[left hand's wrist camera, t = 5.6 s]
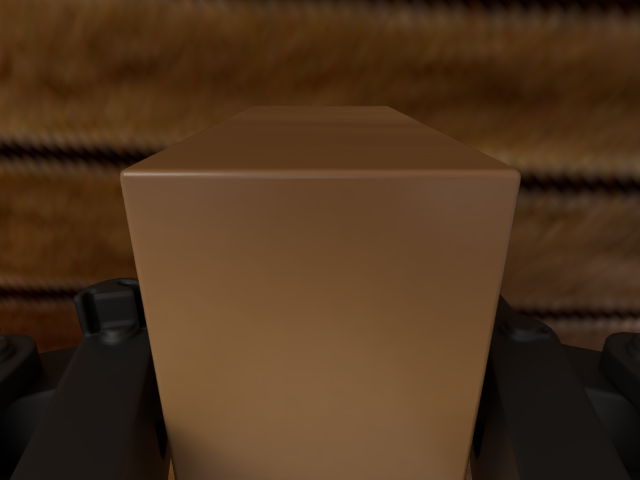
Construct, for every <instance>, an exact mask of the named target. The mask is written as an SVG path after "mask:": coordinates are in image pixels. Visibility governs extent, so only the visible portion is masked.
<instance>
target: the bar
mask: <svg viewBox="0 0 640 480" xmlns="http://www.w3.org/2000/svg"><path fill="white" fill-rule="evenodd" d="M520 180H521V176H520V172H519V170H517V169H515V168H513V167H511V166H508V165H506V164H504V163H502V162H500V161H498V160H496V159H494V158H492V157H490V156H488V155H486V154H484V153H482V152H480V151H478V150H476V149H474V148H472V147H470V146H468V145H466V144H464V143H462V142H460V141H457V140H455V139H453V138H451V137H449V136H447V135H445V134H443V133H441V132H439V131H437V130H435V129H433V128H431V127H429V126H427V125H425V124H423V123H421V122H419V121H417V120H415V119H413V118H411V117H409V116H406V115H404V114H402V113H400V112H398V111H396V110H394V109H392V108H390V107H388V106H252V107H250V108H248V109H246V110H244V111H242V112H240V113H238V114H236V115H234V116H232V117H230V118H228V119H226V120H224V121H222V122H220V123H218V124H215V125H213V126H211V127H209V128H207V129H205V130H203V131H201V132H199V133H197V134H195V135H193V136H191V137H189V138H187V139H185V140H183V141H181V142H179V143H177V144H175V145H173V146H171V147H169V148H167V149H165V150H163V151H161V152H159V153H157V154H155V155H152V156H150V157H148V158H146V159H144V160H142V161H140V162H138V163H136V164H134V165H132V166H130V167H128V168H126V169H124V170H122V171H121V175H120V181H121V187H122V192H123V198H124V203H125V208H126V214H127V219H128V225H129V230H130V236H131V241H132V247H133V252H134V258H135V263H136V268H137V274H138V279H139V285H140V290H141V296H142V301H143V307H144V312H145V318H146V323H147V328H148V334H149V339H150V345H151V350H152V356H153V361H154V367H155V372H156V378H157V383H158V388H159V394H160V399H161V405H162V410H163V416H164V421H165V427H166V432H167V438H168V443H169V448H170V454H171V459H172V465H173V470H174V476H175V480H465V478H466V473H467V468H468V462H469V457H470V451H471V446H472V440H473V435H474V430H475V424H476V419H477V413H478V408H479V402H480V397H481V392H482V386H483V381H484V375H485V370H486V364H487V359H488V354H489V348H490V343H491V337H492V332H493V326H494V321H495V316H496V310H497V305H498V299H499V294H500V288H501V283H502V278H503V272H504V267H505V261H506V256H507V251H508V245H509V240H510V234H511V229H512V223H513V218H514V213H515V207H516V202H517V196H518V191H519V185H520Z"/></svg>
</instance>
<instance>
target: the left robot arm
mask: <svg viewBox="0 0 640 480" xmlns="http://www.w3.org/2000/svg"><path fill="white" fill-rule="evenodd" d="M73 299H74V303H75V306H76V310H77V314H78V318H79V322H80V326H81V330H82V334H83V337H82V339H81V341H80V343H79V345H78V346H75V347H71V348H66V349H61V350H56V351H50V352H45V353H40V354H39V352H38V349H37V346H36V343H35V340H34V339H33V338H31V337H30V336H28V335H21V334H11V335H0V480H168V474H169V466H170V458H171V454H170V448H169V443H168V438H167V432H166V427H165V421H164V416H163V410H162V405H161V399H160V394H159V388H158V383H157V378H156V372H155V367H154V361H153V356H152V350H151V345H150V339H149V334H148V328H147V323H146V318H145V312H144V307H143V301H142V296H141V290H140V285H139V279H135V278H118V279H112V280H106V281H103V282H100V283H97V284H94V285H91V286H89V287H87V288H85V289H84V290H82V291H80V292H79V293H78V294H77V295H76V296H75V297H74V298H73ZM470 465H471V473H472V480H640V333H629V332H620V333H614V334H611V335H610V336H609V337H607V338H606V341H605V344H604V347H603V350H602V352H600V351H595V350H589V349H584V348H579V347H573V346H568V345H564V344H561V342H560V340H559V338H558V336H557V335H556V334H555V332H554V331H553V330H552V329H551V328H550V327H549V326H547V325H545V324H544V323H542V322H541V321H539V320H536V319H533V318H531V317H528V316H525V315H520V314H516V313H515V312H514V311H513V309H512V308H511V307H510V306H509V305H508V303H507V302H506V301H505V300H504V298H503V297H502V296H501V295H500V294H499V299H498V305H497V310H496V316H495V321H494V326H493V332H492V337H491V343H490V348H489V354H488V359H487V364H486V370H485V375H484V381H483V386H482V392H481V397H480V402H479V408H478V413H477V419H476V424H475V430H474V435H473V440H472V446H471V451H470Z"/></svg>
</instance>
